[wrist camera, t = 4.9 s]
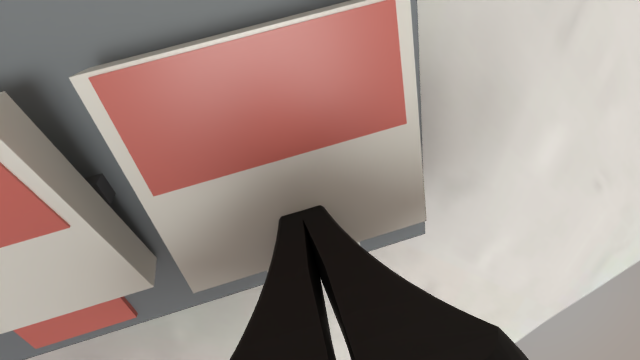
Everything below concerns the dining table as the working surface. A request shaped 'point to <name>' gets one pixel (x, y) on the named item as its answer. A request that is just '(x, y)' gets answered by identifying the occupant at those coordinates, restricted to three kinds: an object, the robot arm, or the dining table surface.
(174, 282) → the switch panel
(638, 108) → the dining table surface
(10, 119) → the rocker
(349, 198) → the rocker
